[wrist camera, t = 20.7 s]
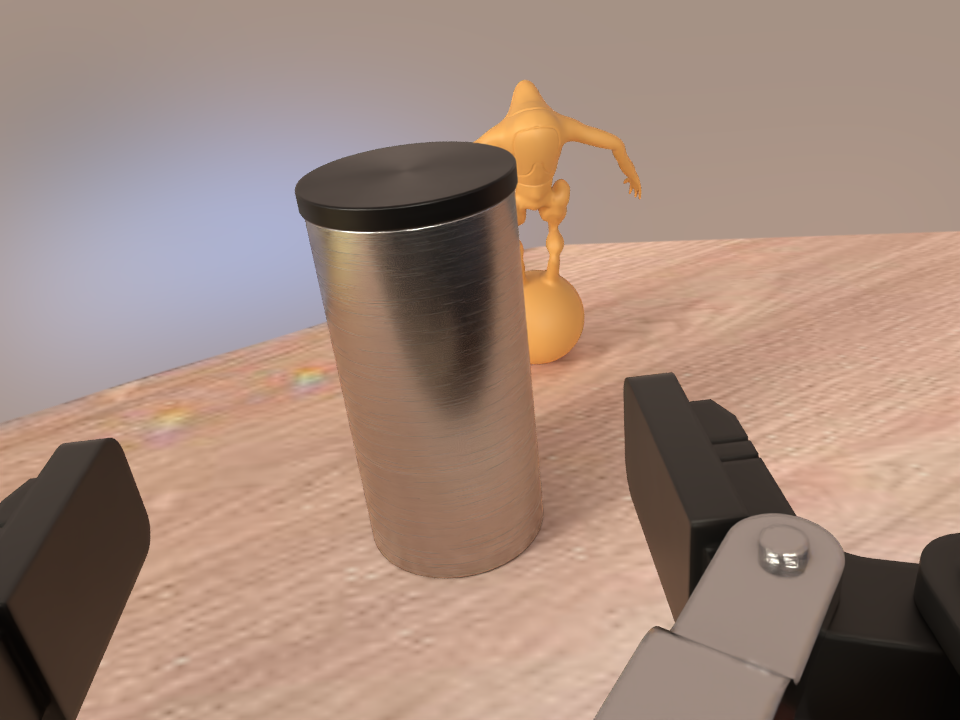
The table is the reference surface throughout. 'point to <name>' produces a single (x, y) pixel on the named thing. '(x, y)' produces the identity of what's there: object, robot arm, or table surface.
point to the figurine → (548, 211)
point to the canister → (431, 348)
